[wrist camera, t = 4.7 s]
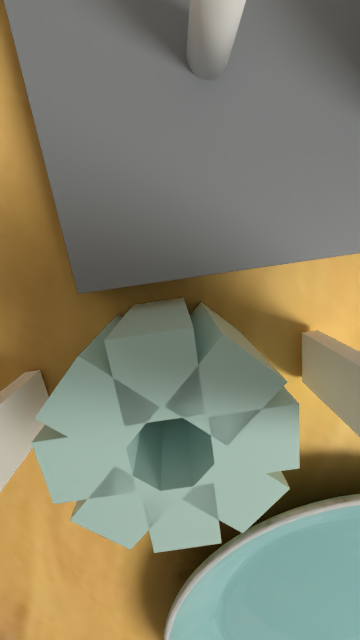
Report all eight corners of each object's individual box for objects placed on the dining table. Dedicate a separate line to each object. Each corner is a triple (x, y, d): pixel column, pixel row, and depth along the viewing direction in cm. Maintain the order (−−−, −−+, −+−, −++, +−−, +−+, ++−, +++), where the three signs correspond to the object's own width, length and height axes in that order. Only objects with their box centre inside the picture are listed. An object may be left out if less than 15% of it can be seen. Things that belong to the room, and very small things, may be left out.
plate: (213, 426, 13) (224, 470, 11) (537, 488, 15) (616, 537, 13) (135, 662, 19) (129, 733, 16) (385, 684, 21) (418, 749, 18)
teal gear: (110, 452, 13) (75, 564, 8) (74, 313, 11) (-1, 355, 6) (252, 431, 13) (300, 531, 8) (242, 288, 11) (297, 312, 6)
